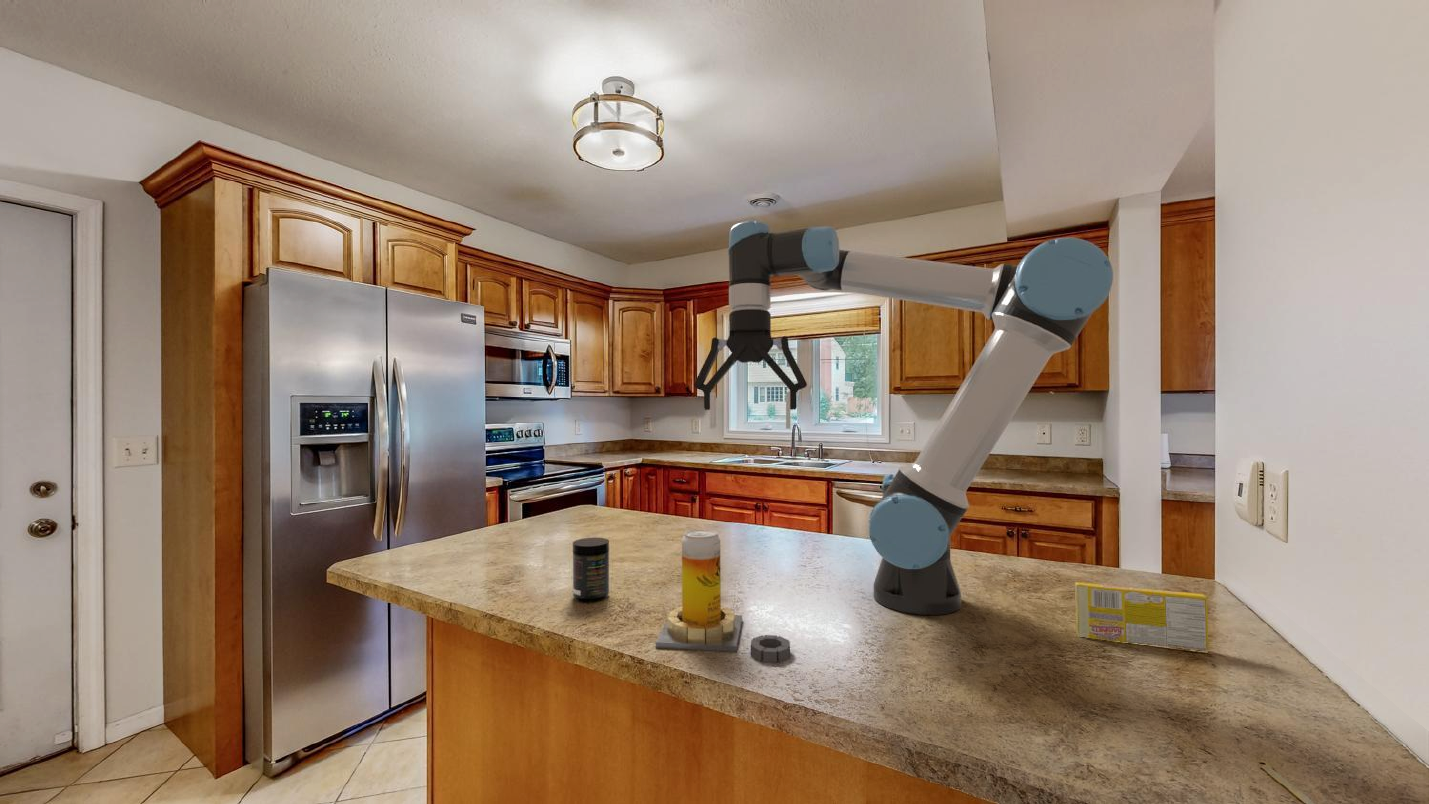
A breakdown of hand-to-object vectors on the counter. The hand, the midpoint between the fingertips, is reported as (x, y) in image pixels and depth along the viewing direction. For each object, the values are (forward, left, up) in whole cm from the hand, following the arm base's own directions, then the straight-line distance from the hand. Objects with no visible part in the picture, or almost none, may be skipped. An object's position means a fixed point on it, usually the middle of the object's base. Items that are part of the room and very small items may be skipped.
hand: (750, 428), depth 102 cm
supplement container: (+30, 0, -32) cm, 44 cm away
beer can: (+7, +14, -31) cm, 35 cm away
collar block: (+7, +14, -32) cm, 35 cm away
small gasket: (-4, +20, -32) cm, 38 cm away
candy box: (-59, +10, -32) cm, 68 cm away
